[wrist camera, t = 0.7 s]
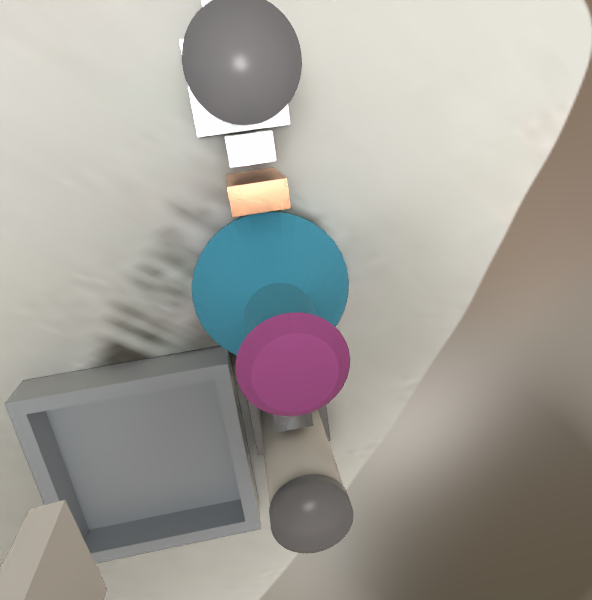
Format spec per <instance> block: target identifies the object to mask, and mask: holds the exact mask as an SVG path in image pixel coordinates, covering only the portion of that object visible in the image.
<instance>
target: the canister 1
mask: <svg viewBox="0 0 592 600" xmlns="http://www.w3.org/2000/svg"><path fill="white" fill-rule="evenodd" d="M182 65H183V71H184V75H185V79H186V81H187V84H188V86H189V88H190V90H191V92H192V94H193V95H194V97H195V98H196V100H197V101H198V102H199V103H200V104H201V106H202V107H203V108H204V109H206V110H207V111H208V112H209V113H210V114H212V115H213V116H215V117H216V118H218V119H220V120H222V121H224V122H227V123H230V124H235V125H253V124H258V123H262V122H264V121H267V120H269V119H271V118H273V117H274V116H276V115H277V114H278V113H280V112H281V111H282V110H283V109H284V108H285V107H286V106H287V104H288V103H289V102H290V100H291V99H292V97H293V96H294V94H295V91H296V89H297V87H298V84H299V80H300V75H301V67H302V58H301V50H300V45H299V41H298V38H297V36H296V33H295V31H294V29H293V27H292V25H291V24H290V22H289V21H288V19H287V18H286V17H285V15H284V14H283V13H282V12H281V11H280V10H279V9H278V8H276V7H275V6H274V5H273V4H271V3H270V2H268V1H266V0H212V1H210V2H209V3H207V4H206V5H205V6H203V7H202V8H201V9H200V10H199V11H198V12H197V13H196V15H195V16H194V17H193V19H192V20H191V22H190V24H189V26H188V28H187V31H186V33H185V37H184V41H183V47H182Z"/></svg>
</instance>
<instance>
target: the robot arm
mask: <svg viewBox="0 0 592 600" xmlns="http://www.w3.org/2000/svg"><path fill="white" fill-rule="evenodd" d="M106 589H107V588H106V586H105V583H104V581H103V579H102V577H101V575H100V573H99V571H98V569H97V566H96V564H95V562H94V560H93V558H92V556H91V554H90V552H89V549H88V547H87V545H86V543H85V541H84V539H83V537H82V535H81V532H80V530H79V528H78V526H77V524H76V522H75V520H74V518H73V515H72V513H71V511H70V509H69V507H68V505H67V503H66V500H62V501H58V502H54V503H51V504H47V505H43V506H39V507H35V508H31V509H30V510H29V512H28V514H27V516H26V518H25V520H24V522H23V524H22V526H21V528H20V530H19V532H18V534H17V536H16V538H15V540H14V542H13V544H12V546H11V548H10V550H9V552H8V554H7V556H6V558H5V560H4V562H3V564H2V566H1V568H0V600H104V598H105V593H106Z"/></svg>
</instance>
